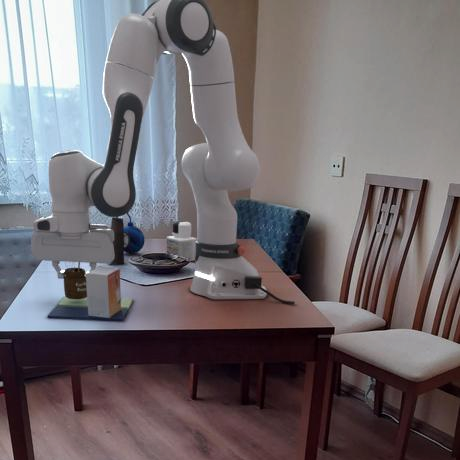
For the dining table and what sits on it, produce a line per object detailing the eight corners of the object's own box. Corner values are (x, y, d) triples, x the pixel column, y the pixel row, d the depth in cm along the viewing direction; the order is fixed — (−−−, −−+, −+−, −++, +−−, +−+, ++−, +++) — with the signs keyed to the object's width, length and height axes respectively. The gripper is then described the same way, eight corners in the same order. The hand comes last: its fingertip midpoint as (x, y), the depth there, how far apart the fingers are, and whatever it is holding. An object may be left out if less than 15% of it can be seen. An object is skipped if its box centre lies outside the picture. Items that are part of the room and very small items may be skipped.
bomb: (110, 254, 199) (108, 210, 192) (127, 249, 208) (125, 207, 202) (134, 257, 196) (132, 213, 189) (149, 252, 205) (149, 210, 198)
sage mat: (132, 301, 149) (132, 298, 149) (128, 309, 142) (128, 307, 142) (65, 297, 149) (65, 295, 148) (57, 306, 141) (57, 304, 141)
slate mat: (127, 311, 141) (127, 309, 141) (122, 321, 134) (122, 319, 133) (56, 308, 140) (56, 306, 140) (47, 318, 133) (47, 315, 133)
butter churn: (125, 268, 181) (122, 176, 169) (98, 265, 183) (93, 174, 170) (135, 262, 190) (133, 174, 177) (108, 260, 191) (104, 172, 178)
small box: (109, 318, 133) (107, 275, 128) (87, 316, 134) (84, 272, 129) (122, 309, 140) (120, 267, 135) (101, 307, 141) (98, 265, 136)
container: (166, 258, 198) (166, 220, 192) (182, 256, 203) (183, 219, 197) (180, 262, 193) (180, 224, 187) (196, 260, 198) (197, 222, 192)
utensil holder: (60, 298, 142) (56, 250, 137) (73, 292, 148) (70, 246, 142) (80, 301, 141) (76, 253, 135) (93, 295, 146) (90, 248, 141)
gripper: (115, 223, 139) (118, 277, 145) (33, 218, 138) (39, 274, 145) (111, 227, 134) (114, 283, 140) (25, 222, 133) (32, 280, 139)
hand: (75, 278), depth 142 cm, fingers closed on utensil holder, 6 cm apart
